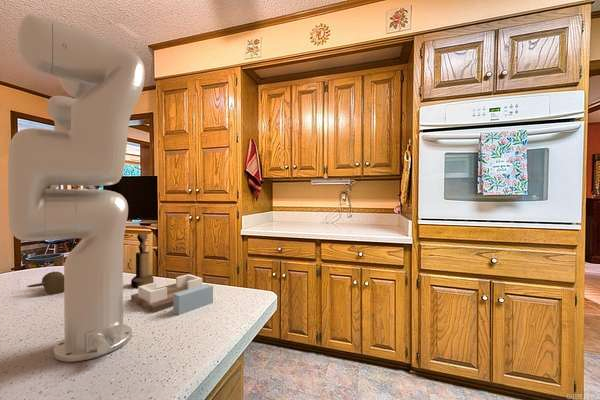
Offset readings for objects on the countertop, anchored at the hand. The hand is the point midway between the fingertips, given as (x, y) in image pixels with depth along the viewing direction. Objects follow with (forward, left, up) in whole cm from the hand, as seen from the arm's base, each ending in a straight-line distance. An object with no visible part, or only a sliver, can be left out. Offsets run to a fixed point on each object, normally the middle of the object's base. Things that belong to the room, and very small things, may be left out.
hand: (72, 204), depth 80 cm
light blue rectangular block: (-36, -18, -28) cm, 49 cm away
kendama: (+12, -2, -28) cm, 31 cm away
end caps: (-24, -18, -26) cm, 40 cm away
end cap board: (-24, -18, -28) cm, 41 cm away
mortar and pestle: (-5, -18, -28) cm, 33 cm away
